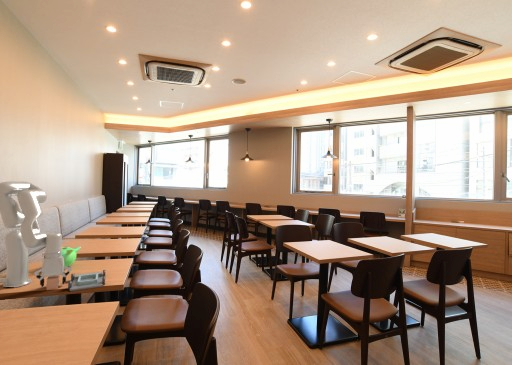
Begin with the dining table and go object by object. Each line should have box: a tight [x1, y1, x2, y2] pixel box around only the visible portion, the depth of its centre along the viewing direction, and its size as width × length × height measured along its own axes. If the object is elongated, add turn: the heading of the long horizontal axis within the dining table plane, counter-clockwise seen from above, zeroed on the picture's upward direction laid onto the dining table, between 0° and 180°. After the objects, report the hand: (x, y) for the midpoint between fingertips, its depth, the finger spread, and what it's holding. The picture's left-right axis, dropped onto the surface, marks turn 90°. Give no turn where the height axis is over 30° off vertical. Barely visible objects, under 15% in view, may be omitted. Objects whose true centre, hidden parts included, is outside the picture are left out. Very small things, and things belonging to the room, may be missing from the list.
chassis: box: [67, 269, 106, 292], centre depth 163 cm, size 18×21×4 cm
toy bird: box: [62, 246, 82, 267], centre depth 190 cm, size 18×17×15 cm
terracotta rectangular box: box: [46, 275, 61, 291], centre depth 155 cm, size 5×7×6 cm
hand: (53, 284), depth 155 cm, fingers open, 9 cm apart
